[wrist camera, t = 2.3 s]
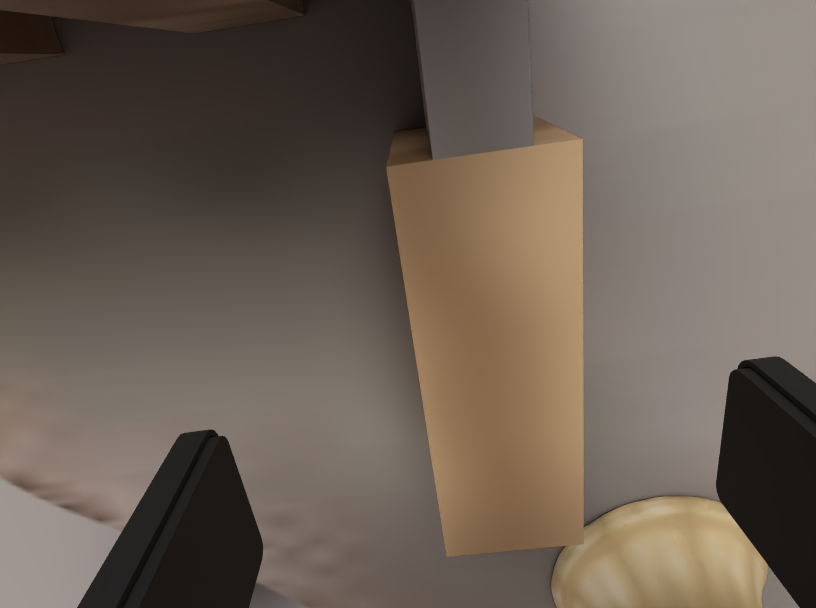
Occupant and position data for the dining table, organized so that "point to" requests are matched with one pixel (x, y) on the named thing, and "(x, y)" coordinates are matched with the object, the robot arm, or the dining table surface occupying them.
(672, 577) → the hand bell
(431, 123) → the tan and gray block
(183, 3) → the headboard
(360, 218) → the dining table surface
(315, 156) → the dining table surface
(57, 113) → the dining table surface
